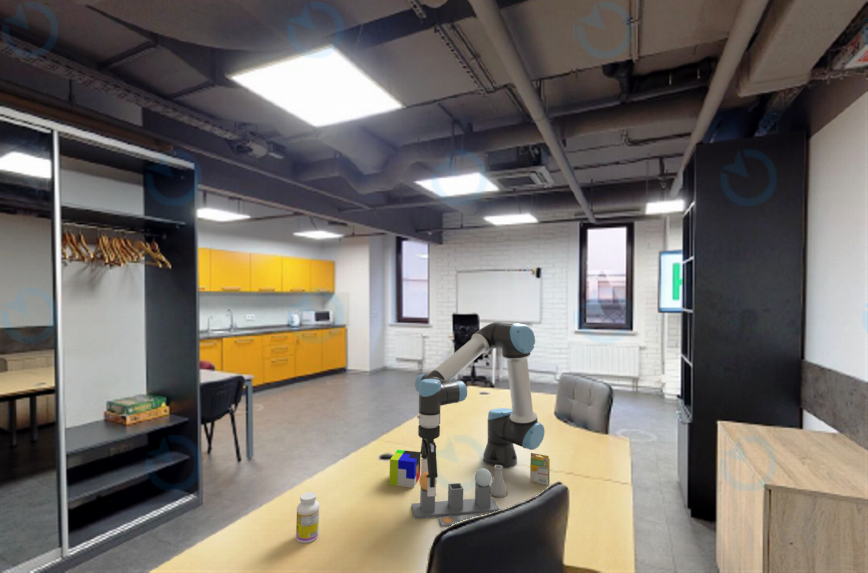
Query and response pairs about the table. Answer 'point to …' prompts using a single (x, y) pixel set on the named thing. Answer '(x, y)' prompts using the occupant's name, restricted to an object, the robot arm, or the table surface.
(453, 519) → the card
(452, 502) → the ball display stand
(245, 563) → the table surface
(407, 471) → the puzzle toy
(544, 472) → the crayon box
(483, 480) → the light gray ball
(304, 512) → the supplement bottle
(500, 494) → the flask
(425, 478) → the orange ball
